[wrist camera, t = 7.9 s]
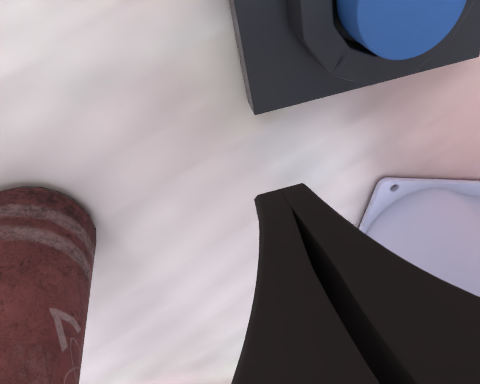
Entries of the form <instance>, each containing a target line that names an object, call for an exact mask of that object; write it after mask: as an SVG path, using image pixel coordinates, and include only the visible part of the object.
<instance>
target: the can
mask: <svg viewBox="0 0 480 384" xmlns="http://www.w3.org/2000/svg"><path fill="white" fill-rule="evenodd" d="M95 247H96V228H95V226H94V224H93V222H92V220H91V218H90V216H89V215H88V213H87V212H86V211H85V210H84V209H83V208H82V207H81V206H80V205H79V204H78V203H76V202H75V201H74V200H73V199H71V198H69V197H67V196H66V195H64V194H62V193H60V192H58V191H54V190H50V189H46V188H43V187H18V188H14V189H9V190H4V191H0V384H79V378H80V369H81V361H82V353H83V345H84V337H85V328H86V320H87V312H88V304H89V296H90V288H91V279H92V271H93V263H94V255H95Z"/></svg>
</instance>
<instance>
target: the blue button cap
mask: <svg viewBox="0 0 480 384" xmlns="http://www.w3.org/2000/svg"><path fill="white" fill-rule="evenodd" d="M465 3H466V0H337V12H338V16H339V19H340V22H341V24H342V26H343V28H344V29H345V31H346V32H347V33H348V34H349V35H350V36H351V37H352V38H353V39H355V40H356V41H357V42H359V43H360V44H362V45H363V46H364V47H366V48H367V49H369V50H370V51H371V52H373V53H374V54H376V55H377V56H380V57H382V58H385V59H389V60H404V59H409V58H413V57H416V56H418V55H421V54H423V53H425V52H426V51H428V50H430V49H431V48H433V47H434V46H435V45H437V44H438V43H439V42H440V41H441V40H442V39H443V38H444V37H445V36H446V35H447V34H448V33H449V32H450V30H451V29H452V28H453V26H454V25H455V23H456V22H457V20H458V19H459V17H460V15H461V13H462V11H463V8H464V6H465Z"/></svg>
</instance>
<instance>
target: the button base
mask: <svg viewBox="0 0 480 384" xmlns="http://www.w3.org/2000/svg"><path fill="white" fill-rule="evenodd" d="M229 3H230V8H231V13H232V19H233V24H234V29H235V34H236V40H237V45H238V50H239V56H240V61H241V66H242V72H243V77H244V82H245V88H246V93H247V98H248V102H249V104H250V106H251V108H252V110H253V112H254V114H255V115H257V114H261V113H265V112H269V111H273V110H277V109H280V108H284V107H288V106H292V105H296V104H300V103H303V102H307V101H311V100H315V99H319V98H323V97H326V96H330V95H334V94H338V93H342V92H346V91H349V90H353V89H357V88H361V87H365V86H369V85H373V84H377V83H380V82H384V81H388V80H392V79H396V78H400V77H404V76H407V75H411V74H415V73H419V72H422V71H426V70H430V69H434V68H438V67H442V66H445V65H449V64H453V63H457V62H461V61H465V60H468V59H472V58H476V57H479V54H480V0H466V3H465V6H464V8H463V11H462V13H461V15H460V17H459V19H458V20H457V22H456V23H455V25H454V26H453V28H452V29H451V30H450V32H449V33H448V34H447V35H446V36H445V37H444V38H443V39H442V40H441V41H440V42H439V43H438V44H437V45H435V46H434V47H433V48H431V49H430V50H428V51H426V52H425V53H423V54H421V55H418V56H416V57H413V58H409V59H404V60H389V59H385V58H382V57H380V56H377V55H376V54H374V53H373V52H371V51H370V50H369V49H367V48H366V47H364V46H363V45H362V44H360V43H359V42H357V41H356V40H355V39H353V38H352V37H351V36H350V35H349V34H348V33H347V32H346V31H345V29H344V28H343V26H342V24H341V22H340V19H339V16H338V12H337V0H229Z"/></svg>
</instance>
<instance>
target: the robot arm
mask: <svg viewBox="0 0 480 384" xmlns="http://www.w3.org/2000/svg"><path fill="white" fill-rule="evenodd" d="M393 185H395V186H394V187H392V186H393ZM391 187H392V188H391ZM254 201H255V205H256V210H257V215H258V220H259V260H258V270H257V280H256V287H255V294H254V300H253V305H252V310H251V315H250V320H249V324H248V328H247V332H246V336H245V340H244V344H243V348H242V352H241V355H240V358H239V361H238V365H237V368H236V371H235V374H234V377H233V380H232V383H231V384H480V181H475V180H446V179H417V178H389V177H387V178H383V179H381V180H380V181H379V182H378V183H377V185H376V188H375V190H374V193H373V195H372V197H371V200H370V202H369V205H368V207H367V210H366V212H365V214H364V217H363V219H362V222H361V224H360V227H359V229H358V228H357V227H355V226H354V225H353V224H351V223H350V222H349V221H347V220H346V219H345V218H343V217H342V216H341V215H340V214H338V213H337V212H336V211H335V210H334V209H332V208H331V207H330V206H329V205H328V204H326V203H325V202H324V201H323V200H322V199H321V198H319V197H318V196H317V195H316V194H315V193H314V192H313V191H312V190H311V189H310V188H308V187H307V186H306V185H305V184H303V183H301V184H297V185H293V186H290V187H286V188H282V189H278V190H275V191H271V192H267V193H264V194H260V195H257V197H256V198H255V199H254Z"/></svg>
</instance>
